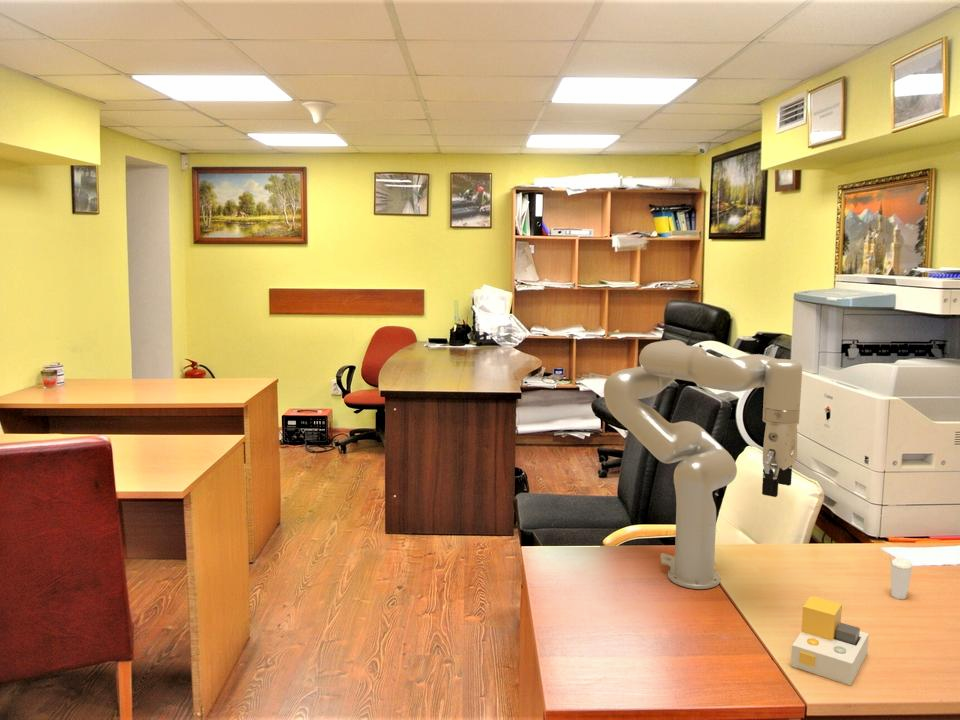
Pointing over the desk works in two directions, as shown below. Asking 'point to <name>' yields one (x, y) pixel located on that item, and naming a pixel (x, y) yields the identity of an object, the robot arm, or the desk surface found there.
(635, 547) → the desk surface
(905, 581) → the milkshake
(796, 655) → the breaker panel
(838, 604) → the cap
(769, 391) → the robot arm
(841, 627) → the block
